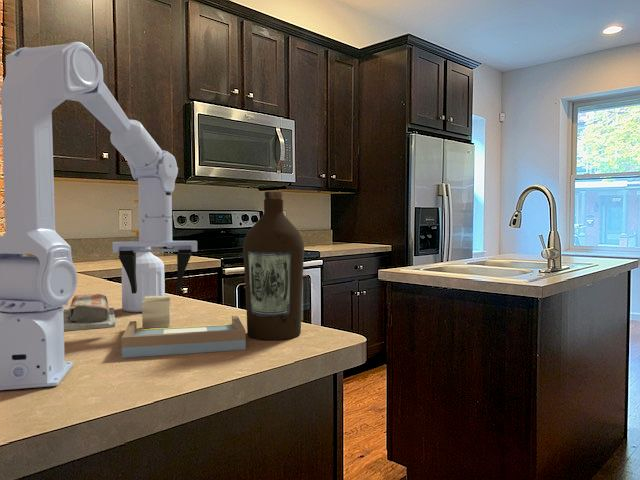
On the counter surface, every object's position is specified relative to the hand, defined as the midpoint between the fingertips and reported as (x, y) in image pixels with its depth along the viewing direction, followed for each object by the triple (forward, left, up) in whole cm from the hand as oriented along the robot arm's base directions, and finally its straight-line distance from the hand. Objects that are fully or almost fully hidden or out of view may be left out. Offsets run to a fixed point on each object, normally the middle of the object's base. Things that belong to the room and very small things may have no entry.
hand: (156, 291), depth 91 cm
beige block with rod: (0, 0, -7) cm, 7 cm away
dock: (-12, -5, -7) cm, 15 cm away
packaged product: (+13, +14, -8) cm, 20 cm away
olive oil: (-9, -20, -7) cm, 23 cm away
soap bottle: (+23, +4, -7) cm, 24 cm away
